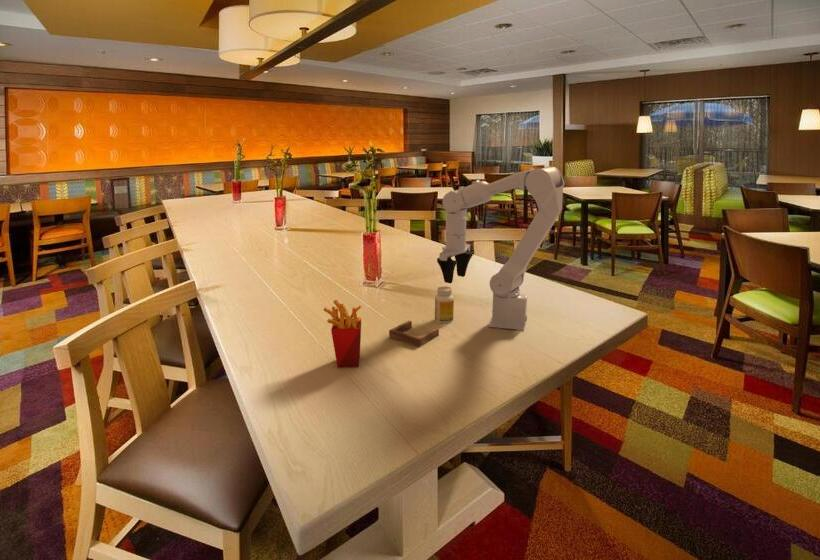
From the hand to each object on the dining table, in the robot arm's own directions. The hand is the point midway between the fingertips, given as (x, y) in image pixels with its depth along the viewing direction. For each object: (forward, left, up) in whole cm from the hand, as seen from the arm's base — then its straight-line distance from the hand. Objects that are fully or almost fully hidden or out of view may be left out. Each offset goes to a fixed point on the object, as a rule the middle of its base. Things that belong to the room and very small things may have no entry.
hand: (454, 279), depth 140 cm
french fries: (+18, +40, -11) cm, 45 cm away
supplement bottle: (+2, +7, -11) cm, 13 cm away
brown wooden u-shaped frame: (+7, +20, -10) cm, 23 cm away
